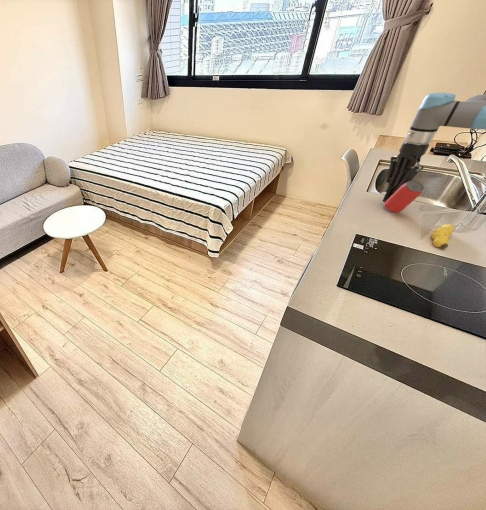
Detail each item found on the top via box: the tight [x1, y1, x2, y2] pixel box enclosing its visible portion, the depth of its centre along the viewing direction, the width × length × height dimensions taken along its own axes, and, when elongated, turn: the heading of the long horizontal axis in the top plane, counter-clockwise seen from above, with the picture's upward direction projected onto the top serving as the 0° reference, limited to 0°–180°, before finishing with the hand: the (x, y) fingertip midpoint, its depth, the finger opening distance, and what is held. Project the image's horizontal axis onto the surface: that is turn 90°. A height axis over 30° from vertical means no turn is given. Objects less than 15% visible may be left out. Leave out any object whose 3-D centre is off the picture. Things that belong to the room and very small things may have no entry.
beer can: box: [384, 180, 425, 214], centre depth 107 cm, size 7×7×12 cm
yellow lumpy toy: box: [431, 223, 455, 249], centre depth 94 cm, size 15×5×4 cm, turn 131°
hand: (386, 201), depth 114 cm, fingers closed
